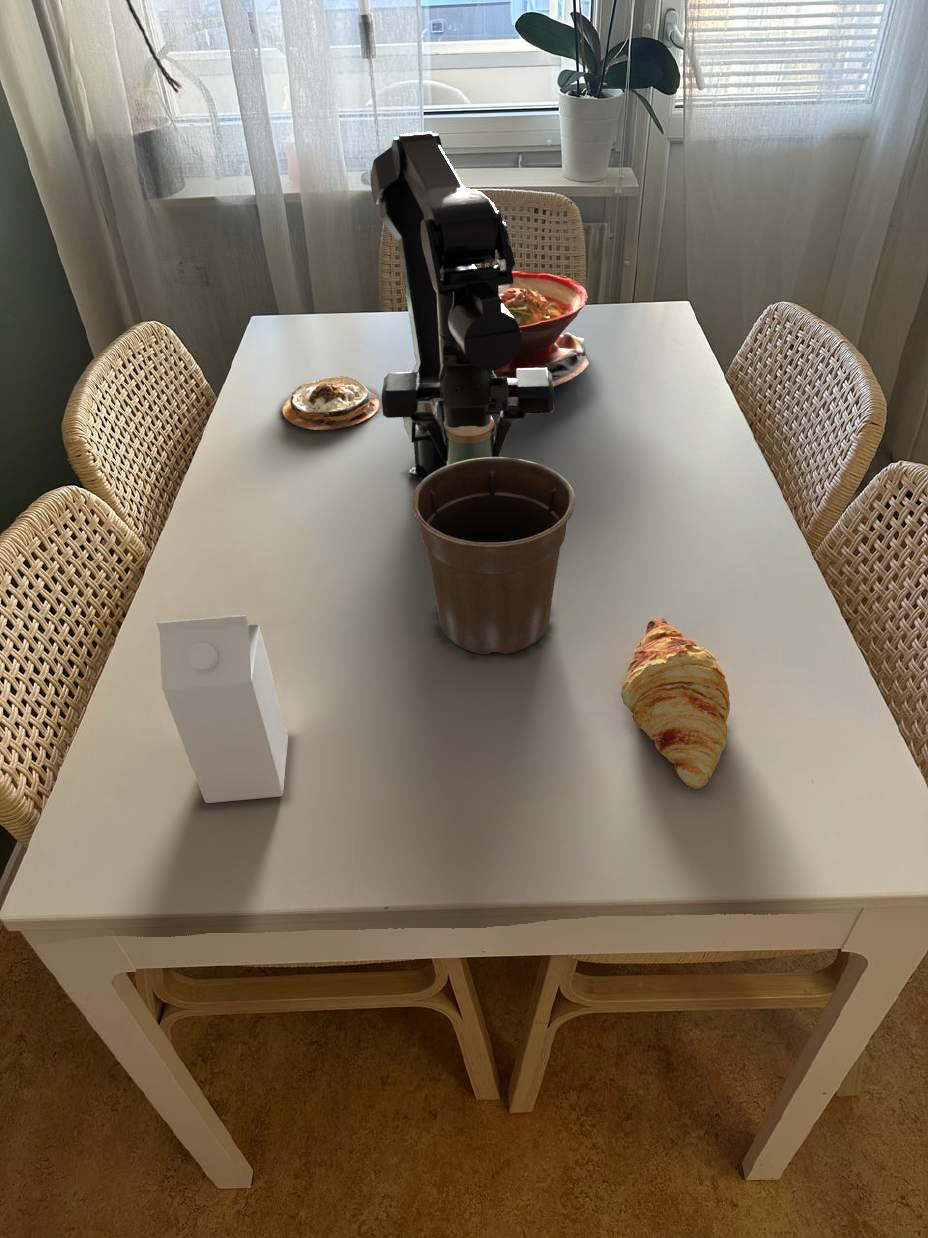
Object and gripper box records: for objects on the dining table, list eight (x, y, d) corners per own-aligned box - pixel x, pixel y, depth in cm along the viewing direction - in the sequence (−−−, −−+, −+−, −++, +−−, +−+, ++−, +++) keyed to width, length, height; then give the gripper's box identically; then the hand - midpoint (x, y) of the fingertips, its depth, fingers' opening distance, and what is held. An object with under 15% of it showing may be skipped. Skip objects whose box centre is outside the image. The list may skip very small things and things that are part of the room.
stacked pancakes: (370, 379, 143) (368, 355, 141) (386, 422, 132) (383, 397, 130) (280, 392, 141) (276, 368, 138) (288, 437, 130) (284, 411, 127)
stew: (457, 329, 158) (453, 236, 147) (591, 332, 154) (597, 237, 144) (431, 402, 137) (424, 300, 126) (585, 407, 134) (592, 303, 123)
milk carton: (215, 745, 85) (164, 594, 72) (288, 738, 85) (250, 587, 73) (205, 804, 79) (148, 653, 67) (283, 797, 80) (241, 645, 67)
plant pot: (477, 558, 106) (473, 440, 95) (594, 604, 99) (604, 482, 88) (393, 633, 96) (378, 511, 86) (516, 691, 89) (517, 565, 78)
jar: (458, 451, 106) (457, 407, 102) (502, 461, 104) (502, 416, 100) (437, 475, 102) (434, 430, 98) (482, 485, 100) (481, 440, 96)
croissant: (722, 818, 80) (779, 769, 76) (630, 792, 77) (684, 739, 72) (673, 656, 96) (718, 607, 91) (596, 629, 93) (637, 576, 88)
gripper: (370, 366, 86) (385, 499, 96) (560, 360, 86) (554, 495, 96) (379, 321, 94) (392, 448, 105) (552, 315, 94) (548, 443, 104)
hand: (470, 459), depth 102 cm, fingers closed on jar, 5 cm apart
